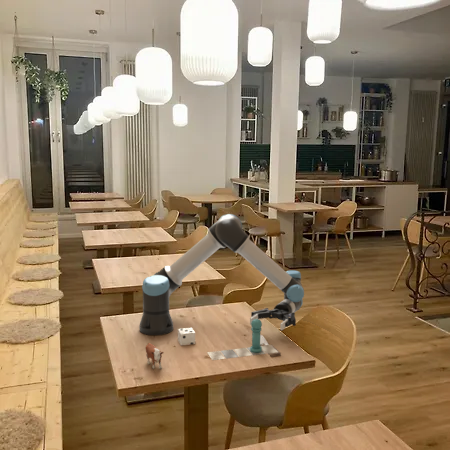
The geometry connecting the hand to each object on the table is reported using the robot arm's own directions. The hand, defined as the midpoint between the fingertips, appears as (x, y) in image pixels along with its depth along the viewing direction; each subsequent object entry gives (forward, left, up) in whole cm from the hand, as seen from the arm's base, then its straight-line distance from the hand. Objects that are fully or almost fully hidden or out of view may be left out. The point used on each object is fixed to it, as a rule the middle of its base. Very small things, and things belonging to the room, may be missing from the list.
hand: (265, 324), depth 203 cm
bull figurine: (-47, -7, -9) cm, 49 cm away
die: (-31, +10, -9) cm, 34 cm away
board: (-12, -7, -9) cm, 17 cm away
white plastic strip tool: (-1, +3, -10) cm, 10 cm away
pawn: (-7, -7, -8) cm, 12 cm away
